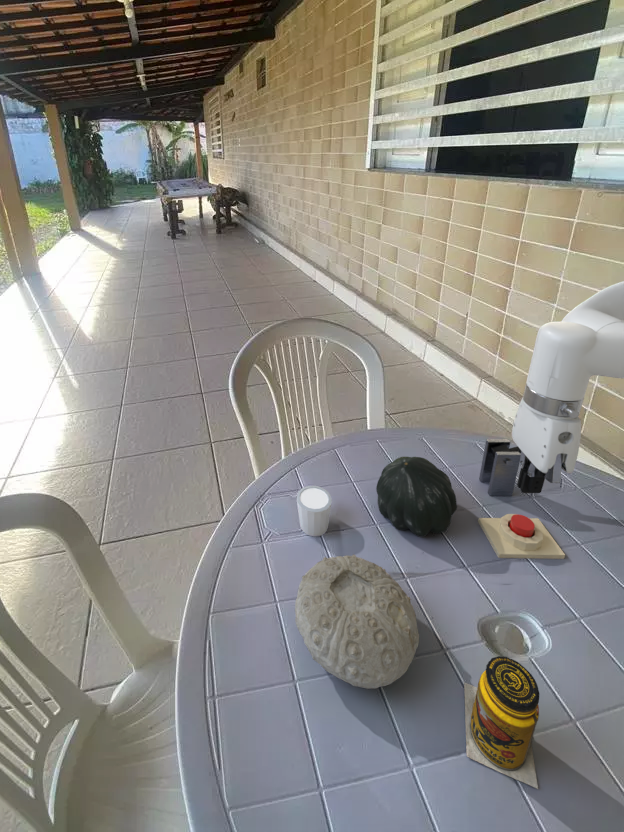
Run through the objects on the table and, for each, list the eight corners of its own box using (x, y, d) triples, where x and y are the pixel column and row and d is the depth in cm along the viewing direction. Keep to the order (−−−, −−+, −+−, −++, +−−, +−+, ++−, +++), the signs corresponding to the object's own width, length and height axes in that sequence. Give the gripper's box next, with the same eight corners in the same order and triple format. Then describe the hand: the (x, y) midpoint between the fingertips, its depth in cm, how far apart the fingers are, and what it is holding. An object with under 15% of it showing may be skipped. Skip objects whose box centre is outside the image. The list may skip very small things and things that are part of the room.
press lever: (555, 436, 87) (554, 427, 86) (571, 452, 82) (570, 442, 82) (489, 452, 89) (487, 443, 89) (501, 468, 85) (499, 459, 84)
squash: (467, 481, 86) (419, 428, 85) (476, 542, 73) (419, 481, 73) (408, 503, 94) (363, 454, 93) (406, 562, 81) (354, 507, 80)
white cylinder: (332, 540, 81) (332, 513, 79) (296, 537, 82) (295, 510, 80) (330, 512, 87) (331, 486, 85) (297, 510, 89) (296, 483, 86)
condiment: (466, 757, 51) (480, 697, 47) (463, 683, 59) (476, 625, 54) (537, 790, 48) (560, 729, 44) (526, 707, 56) (544, 648, 51)
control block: (536, 526, 81) (540, 510, 80) (562, 564, 74) (567, 547, 72) (476, 526, 82) (479, 510, 81) (497, 563, 75) (501, 546, 73)
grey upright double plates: (512, 477, 94) (521, 432, 89) (536, 508, 85) (547, 461, 81) (456, 477, 95) (463, 433, 90) (474, 508, 86) (482, 461, 82)
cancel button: (525, 521, 78) (527, 514, 78) (537, 537, 75) (539, 530, 74) (505, 521, 79) (507, 514, 78) (516, 537, 75) (517, 530, 75)
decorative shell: (404, 588, 71) (409, 545, 68) (427, 717, 55) (436, 669, 52) (298, 575, 75) (297, 533, 71) (291, 693, 59) (289, 646, 55)
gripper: (612, 427, 60) (580, 525, 66) (547, 375, 73) (526, 461, 80) (556, 426, 60) (530, 524, 67) (502, 376, 74) (485, 460, 81)
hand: (528, 489), depth 73 cm, fingers closed
